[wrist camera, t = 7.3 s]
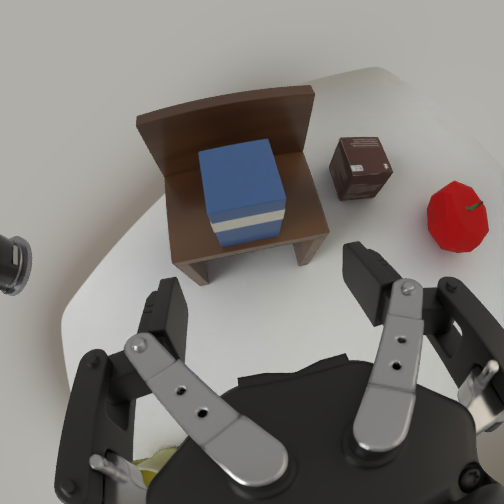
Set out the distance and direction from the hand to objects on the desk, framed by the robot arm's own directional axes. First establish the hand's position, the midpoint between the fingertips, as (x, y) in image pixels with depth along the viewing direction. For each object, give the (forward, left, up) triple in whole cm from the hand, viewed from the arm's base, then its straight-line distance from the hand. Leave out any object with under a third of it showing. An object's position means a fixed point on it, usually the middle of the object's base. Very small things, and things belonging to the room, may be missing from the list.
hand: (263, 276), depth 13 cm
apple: (+26, -18, -22) cm, 38 cm away
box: (+23, -1, -22) cm, 32 cm away
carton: (+5, +5, -10) cm, 12 cm away
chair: (+7, +7, -22) cm, 24 cm away
